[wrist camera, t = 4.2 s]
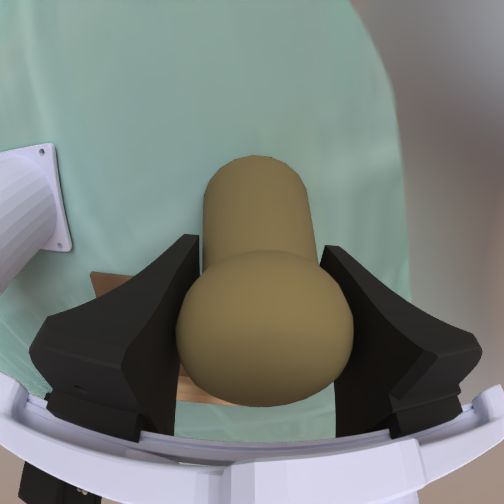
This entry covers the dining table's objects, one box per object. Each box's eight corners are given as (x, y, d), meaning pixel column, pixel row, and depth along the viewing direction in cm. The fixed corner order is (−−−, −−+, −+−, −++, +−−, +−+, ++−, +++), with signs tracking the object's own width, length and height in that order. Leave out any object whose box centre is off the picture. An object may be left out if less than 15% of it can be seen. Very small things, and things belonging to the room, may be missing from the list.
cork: (319, 232, 17) (383, 397, 7) (229, 263, 18) (218, 433, 9) (288, 139, 14) (376, 259, 4) (185, 180, 15) (100, 341, 5)
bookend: (157, 446, 44) (146, 539, 24) (119, 441, 46) (105, 525, 26) (81, 395, 32) (50, 521, 12) (46, 390, 33) (14, 495, 14)
